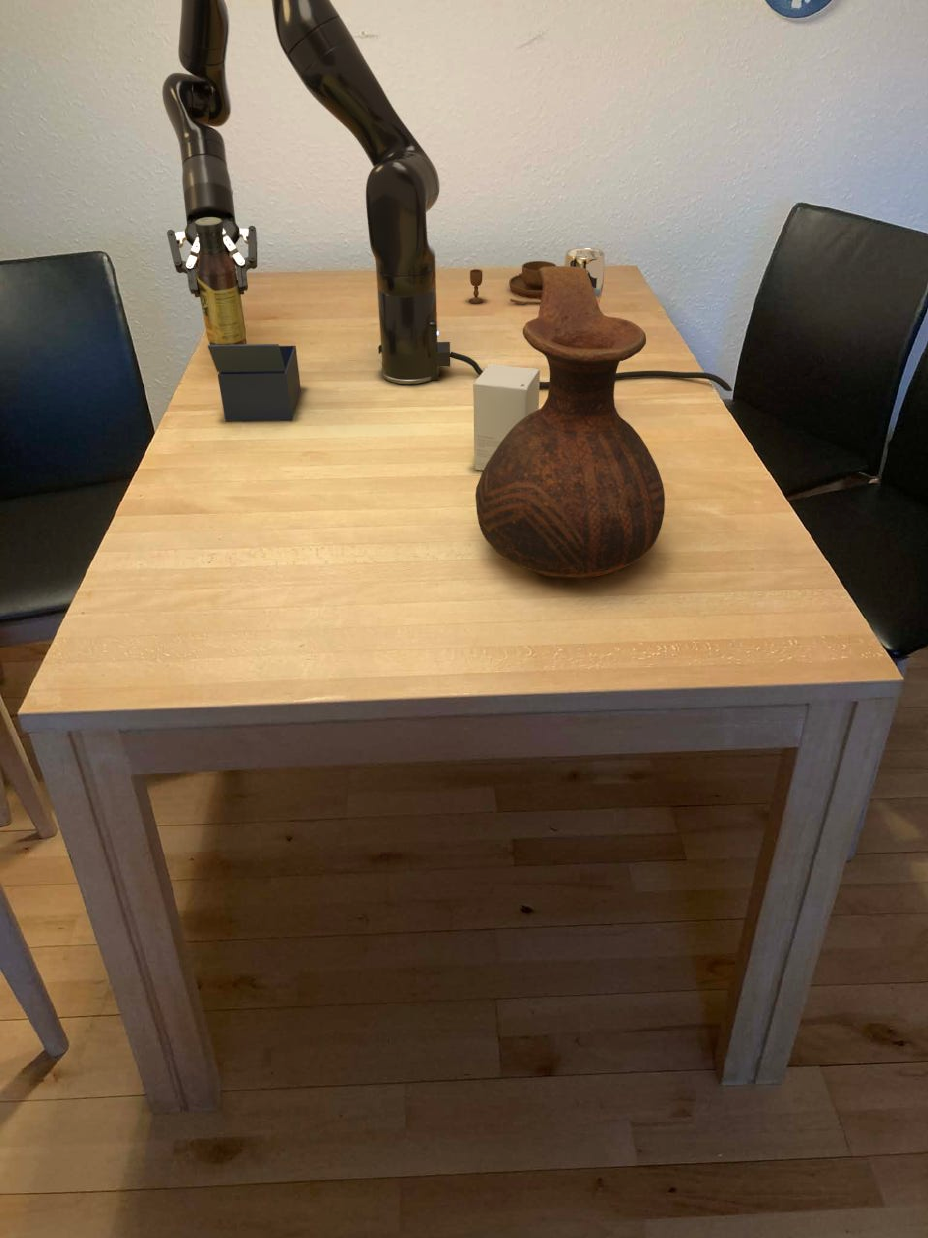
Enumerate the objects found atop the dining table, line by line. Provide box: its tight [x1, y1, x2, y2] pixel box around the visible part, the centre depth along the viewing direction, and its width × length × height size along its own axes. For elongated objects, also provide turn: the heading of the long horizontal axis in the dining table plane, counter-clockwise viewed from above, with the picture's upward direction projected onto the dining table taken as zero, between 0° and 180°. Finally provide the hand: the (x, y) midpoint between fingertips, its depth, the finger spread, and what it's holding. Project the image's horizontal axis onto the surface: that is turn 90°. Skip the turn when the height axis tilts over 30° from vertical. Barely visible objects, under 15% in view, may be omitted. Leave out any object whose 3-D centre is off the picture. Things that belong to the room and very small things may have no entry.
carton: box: [217, 345, 302, 422], centre depth 143 cm, size 10×12×7 cm
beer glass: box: [564, 247, 606, 307], centre depth 163 cm, size 7×7×15 cm
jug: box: [475, 265, 666, 579], centre depth 102 cm, size 22×22×30 cm
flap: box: [207, 343, 285, 373], centre depth 133 cm, size 10×6×1 cm
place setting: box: [468, 260, 557, 305], centre depth 188 cm, size 18×20×6 cm
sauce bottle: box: [195, 217, 247, 345], centre depth 147 cm, size 7×6×20 cm
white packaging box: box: [472, 363, 541, 472], centre depth 126 cm, size 7×7×13 cm
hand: (219, 293), depth 146 cm, fingers closed on sauce bottle, 6 cm apart
